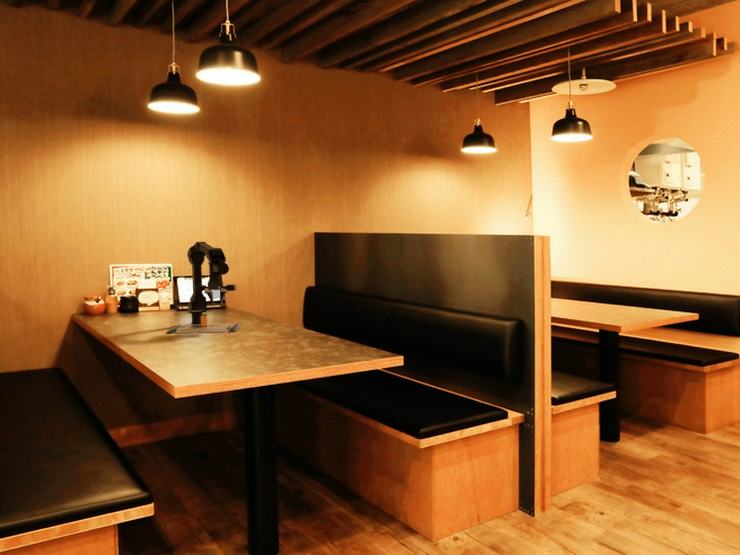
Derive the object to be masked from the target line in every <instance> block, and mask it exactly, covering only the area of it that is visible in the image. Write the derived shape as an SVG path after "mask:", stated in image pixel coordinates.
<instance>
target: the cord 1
mask: <svg viewBox="0 0 740 555" xmlns="http://www.w3.org/2000/svg"><path fill="white" fill-rule="evenodd" d="M181 326H182V325H180V324H179V325H176V326H174V327H172V328H170V329H168V330H167V331H166V332H165V334H166V335H167V334H170V335H171V334H173V333H175V332H176V329H177V328H179V327H181Z"/></svg>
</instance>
